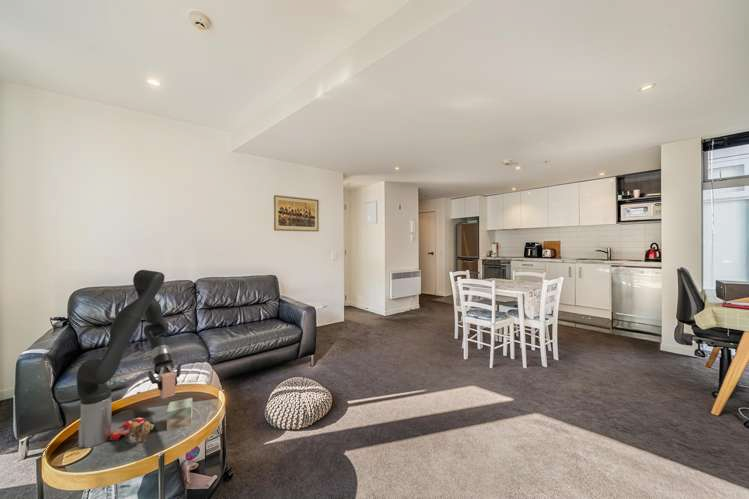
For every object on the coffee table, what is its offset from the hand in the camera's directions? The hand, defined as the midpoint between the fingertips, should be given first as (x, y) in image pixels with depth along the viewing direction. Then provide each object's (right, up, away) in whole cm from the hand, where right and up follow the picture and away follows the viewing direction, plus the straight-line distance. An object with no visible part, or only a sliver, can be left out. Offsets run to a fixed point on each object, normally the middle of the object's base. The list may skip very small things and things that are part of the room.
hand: (168, 387), depth 142 cm
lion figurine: (+2, -13, -20) cm, 24 cm away
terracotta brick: (-1, -4, +1) cm, 5 cm away
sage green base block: (+10, -12, -7) cm, 18 cm away
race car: (-8, -13, -14) cm, 21 cm away
